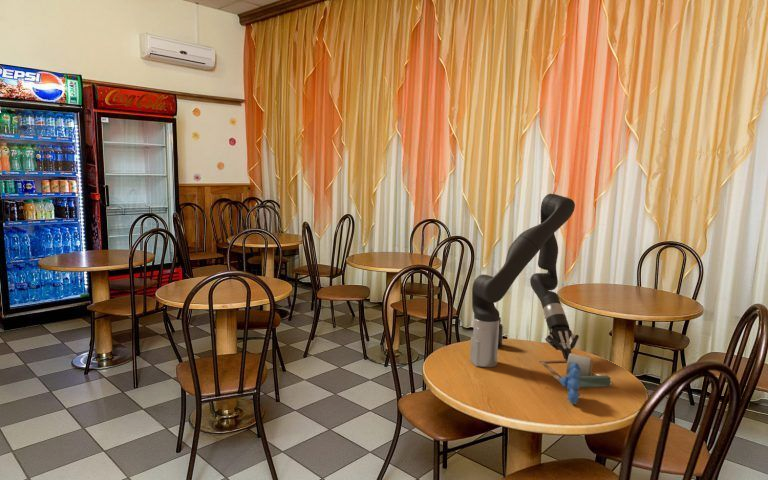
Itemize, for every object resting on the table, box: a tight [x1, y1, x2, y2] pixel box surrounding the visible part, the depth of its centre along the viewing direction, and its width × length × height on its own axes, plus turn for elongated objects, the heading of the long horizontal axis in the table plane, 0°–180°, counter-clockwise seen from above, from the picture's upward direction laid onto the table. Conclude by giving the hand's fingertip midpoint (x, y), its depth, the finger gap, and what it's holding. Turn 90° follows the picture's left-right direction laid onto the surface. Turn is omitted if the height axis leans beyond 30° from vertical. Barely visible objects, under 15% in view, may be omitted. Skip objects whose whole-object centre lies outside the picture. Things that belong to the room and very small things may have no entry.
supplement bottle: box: [498, 316, 504, 349], centre depth 203 cm, size 7×7×12 cm
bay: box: [539, 359, 613, 388], centre depth 175 cm, size 23×17×3 cm
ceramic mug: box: [565, 352, 594, 376], centre depth 174 cm, size 11×8×8 cm
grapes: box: [558, 362, 582, 405], centre depth 153 cm, size 12×7×12 cm, turn 160°
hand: (569, 359), depth 178 cm, fingers closed
